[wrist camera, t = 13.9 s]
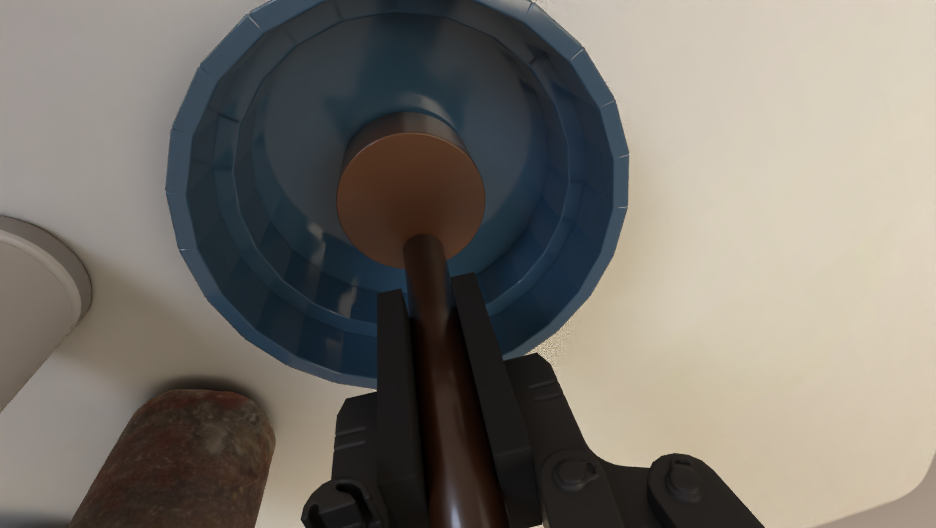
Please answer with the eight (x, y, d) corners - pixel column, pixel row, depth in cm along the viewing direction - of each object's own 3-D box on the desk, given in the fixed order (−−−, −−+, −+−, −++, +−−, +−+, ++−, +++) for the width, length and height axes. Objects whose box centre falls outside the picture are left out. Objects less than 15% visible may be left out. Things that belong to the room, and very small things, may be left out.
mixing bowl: (148, 10, 17) (51, 24, 12) (562, -67, 18) (635, -84, 13) (296, 334, 25) (275, 425, 20) (576, 271, 26) (625, 343, 21)
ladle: (323, 126, 19) (118, 700, 4) (461, 99, 19) (762, 532, 4) (361, 247, 22) (327, 839, 7) (480, 222, 22) (697, 734, 7)
